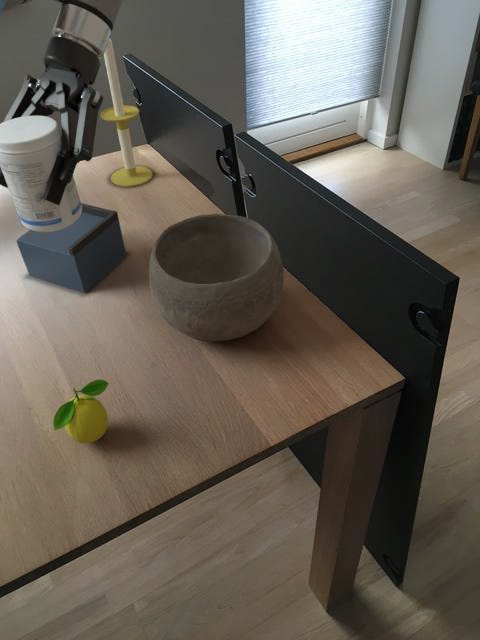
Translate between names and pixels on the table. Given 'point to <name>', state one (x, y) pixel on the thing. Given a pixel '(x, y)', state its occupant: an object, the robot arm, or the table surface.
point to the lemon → (84, 414)
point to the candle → (122, 127)
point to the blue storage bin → (75, 249)
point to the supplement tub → (36, 172)
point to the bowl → (216, 276)
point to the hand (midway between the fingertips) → (26, 193)
